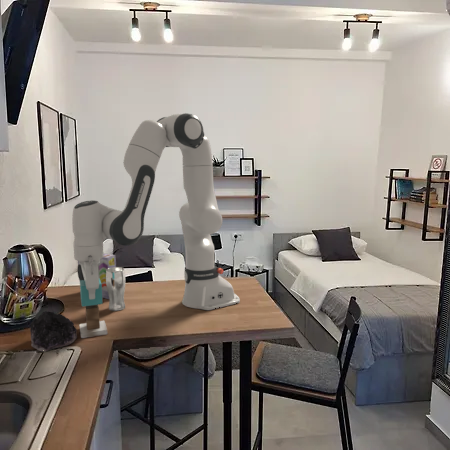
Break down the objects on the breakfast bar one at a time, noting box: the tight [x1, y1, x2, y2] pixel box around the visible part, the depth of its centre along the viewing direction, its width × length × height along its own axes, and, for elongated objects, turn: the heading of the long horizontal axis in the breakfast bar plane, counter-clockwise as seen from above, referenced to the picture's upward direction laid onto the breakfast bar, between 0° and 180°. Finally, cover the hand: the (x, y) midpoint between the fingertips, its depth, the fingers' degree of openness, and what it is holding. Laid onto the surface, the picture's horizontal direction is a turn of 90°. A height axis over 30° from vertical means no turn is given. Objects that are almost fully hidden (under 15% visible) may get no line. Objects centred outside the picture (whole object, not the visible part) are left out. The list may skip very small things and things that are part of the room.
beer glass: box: [106, 266, 126, 312], centre depth 152 cm, size 7×7×15 cm
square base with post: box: [79, 304, 108, 339], centre depth 132 cm, size 8×8×8 cm
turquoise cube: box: [79, 279, 104, 307], centre depth 131 cm, size 6×6×7 cm
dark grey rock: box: [29, 310, 78, 352], centre depth 125 cm, size 13×14×10 cm
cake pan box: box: [76, 253, 117, 300], centre depth 166 cm, size 19×5×18 cm, turn 58°
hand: (91, 294), depth 131 cm, fingers closed on turquoise cube, 6 cm apart
